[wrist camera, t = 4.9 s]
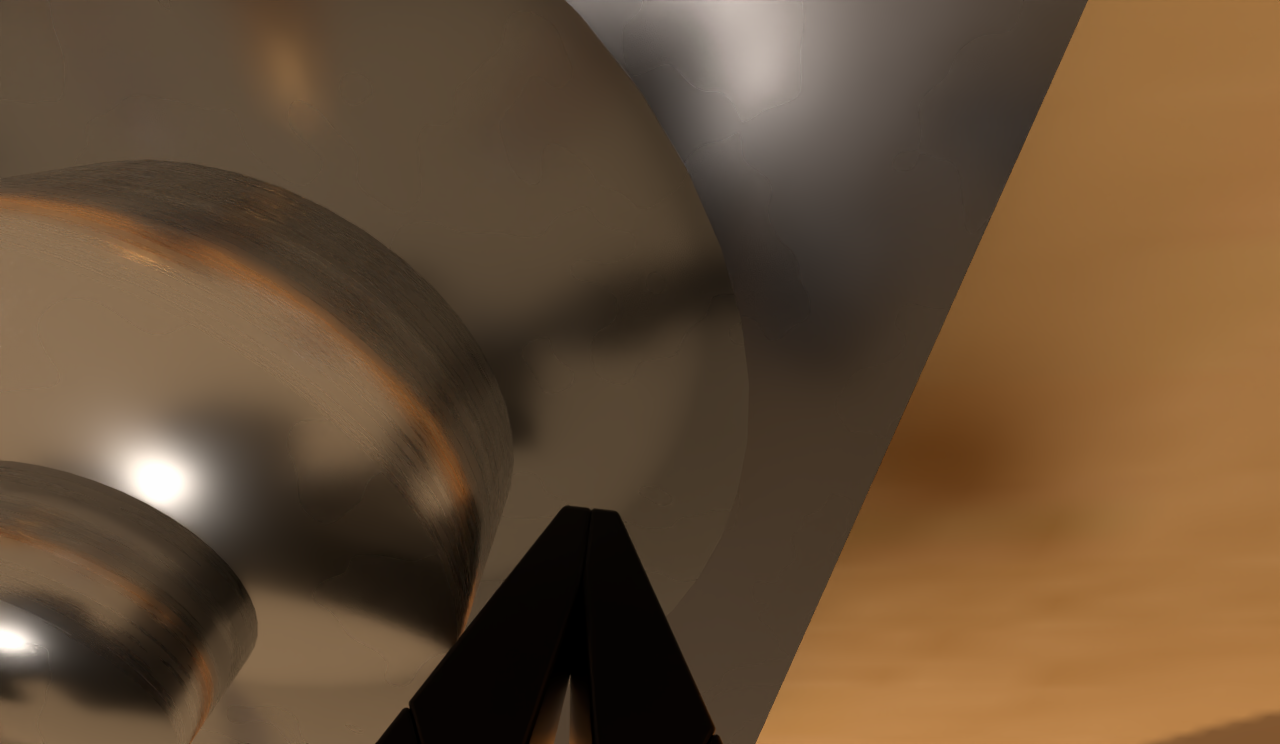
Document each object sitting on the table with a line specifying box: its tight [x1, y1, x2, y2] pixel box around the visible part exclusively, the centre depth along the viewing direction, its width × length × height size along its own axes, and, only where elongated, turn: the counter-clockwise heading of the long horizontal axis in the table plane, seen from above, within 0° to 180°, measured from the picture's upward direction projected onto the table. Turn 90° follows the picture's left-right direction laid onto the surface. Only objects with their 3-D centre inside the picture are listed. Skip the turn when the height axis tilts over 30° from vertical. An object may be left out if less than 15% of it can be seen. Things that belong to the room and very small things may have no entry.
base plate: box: [554, 0, 1088, 744], centre depth 10 cm, size 22×22×1 cm
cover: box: [0, 159, 514, 744], centre depth 7 cm, size 8×8×4 cm
